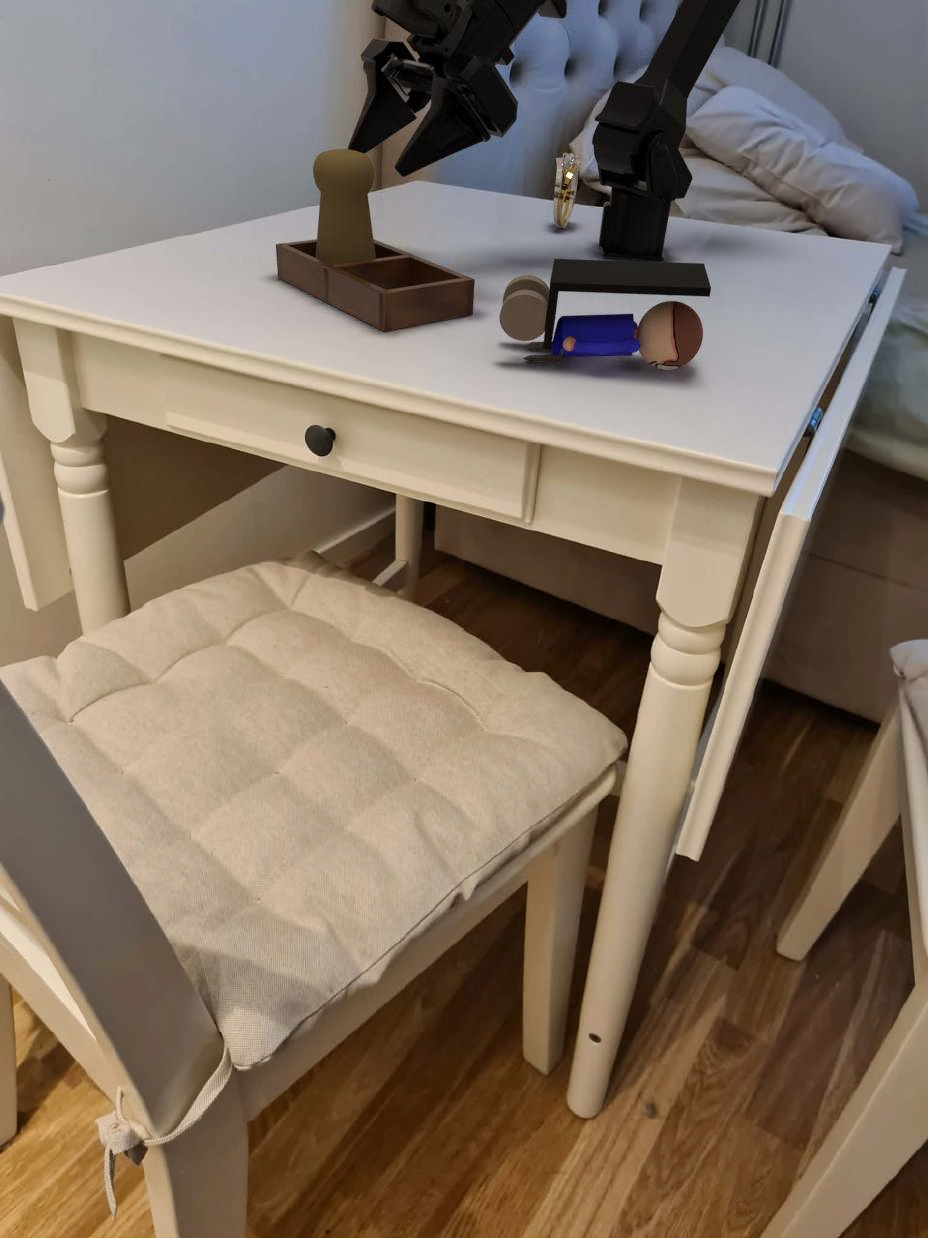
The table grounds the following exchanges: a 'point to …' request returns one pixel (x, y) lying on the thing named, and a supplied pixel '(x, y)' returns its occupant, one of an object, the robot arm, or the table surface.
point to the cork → (344, 206)
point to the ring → (565, 188)
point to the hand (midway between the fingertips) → (373, 162)
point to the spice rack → (379, 285)
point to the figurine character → (659, 337)
